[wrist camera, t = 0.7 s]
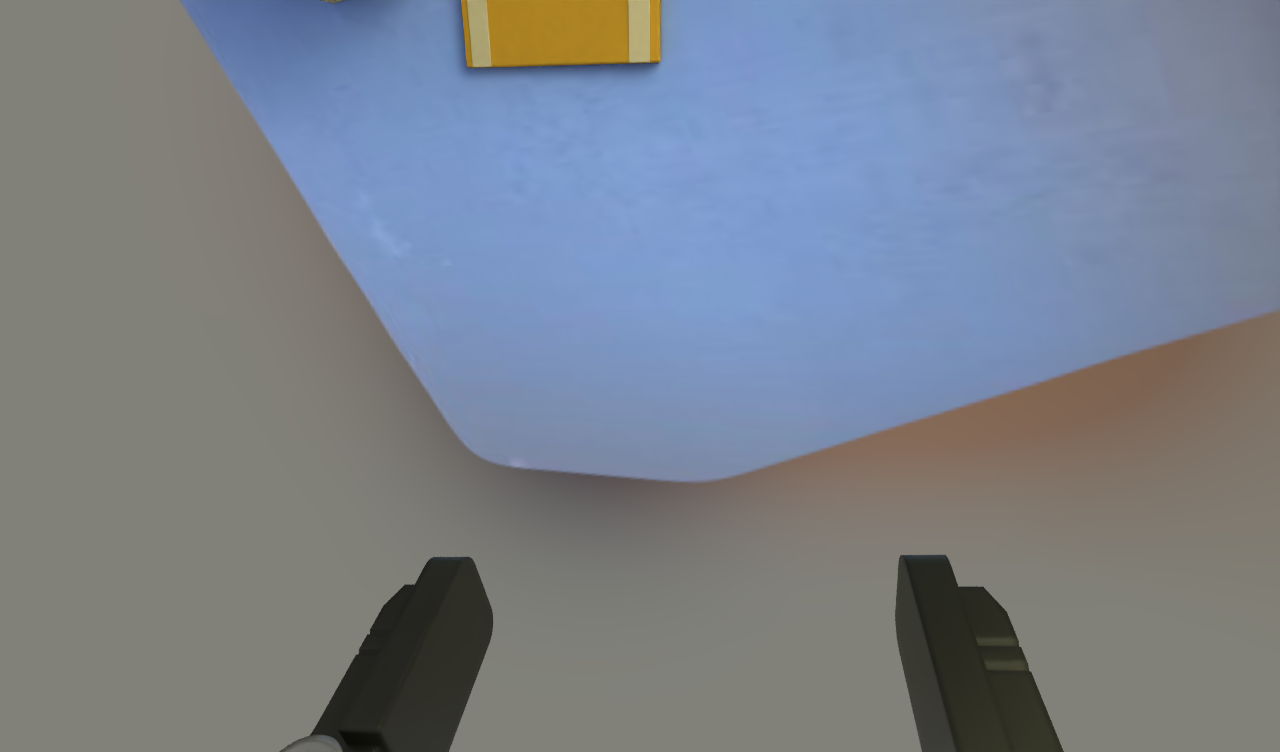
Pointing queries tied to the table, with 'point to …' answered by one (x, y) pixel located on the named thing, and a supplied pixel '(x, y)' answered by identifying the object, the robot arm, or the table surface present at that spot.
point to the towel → (560, 32)
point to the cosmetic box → (333, 1)
